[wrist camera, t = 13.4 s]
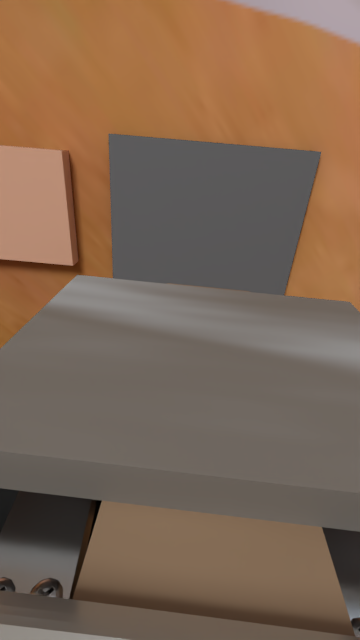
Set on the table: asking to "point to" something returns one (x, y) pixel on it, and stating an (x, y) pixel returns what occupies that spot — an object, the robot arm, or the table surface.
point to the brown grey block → (193, 443)
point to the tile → (36, 206)
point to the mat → (207, 212)
